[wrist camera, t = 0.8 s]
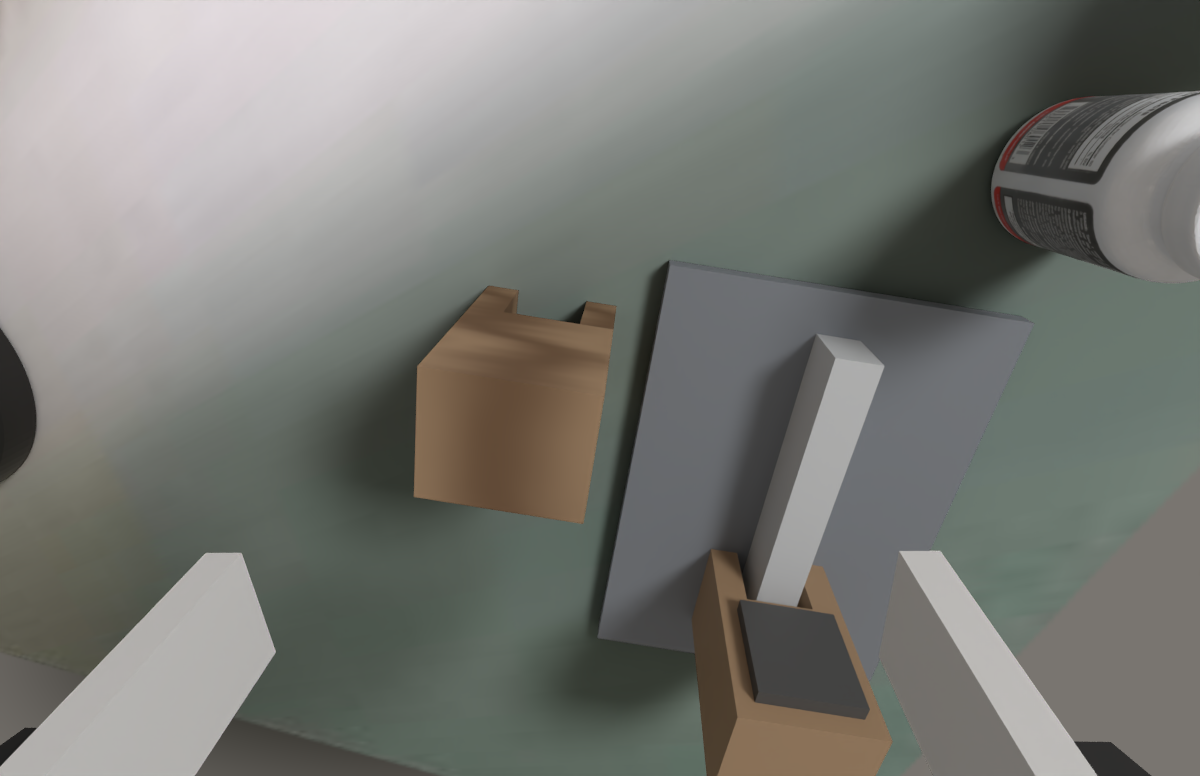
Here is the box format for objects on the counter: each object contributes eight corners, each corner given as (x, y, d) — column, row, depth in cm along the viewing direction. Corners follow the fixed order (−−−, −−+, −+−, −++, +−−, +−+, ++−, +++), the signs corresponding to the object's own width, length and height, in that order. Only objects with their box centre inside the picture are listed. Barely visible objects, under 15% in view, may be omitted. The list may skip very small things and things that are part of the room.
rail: (598, 625, 37) (582, 817, 27) (669, 259, 28) (684, 343, 18) (864, 667, 37) (947, 875, 27) (1021, 316, 28) (1237, 431, 18)
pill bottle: (1119, 235, 26) (1373, 301, 17) (977, 250, 27) (1149, 321, 18) (1150, 85, 24) (1462, 69, 15) (994, 106, 24) (1202, 101, 15)
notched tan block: (480, 393, 31) (413, 510, 22) (488, 285, 29) (417, 366, 20) (599, 412, 31) (581, 537, 22) (616, 305, 29) (604, 395, 20)
